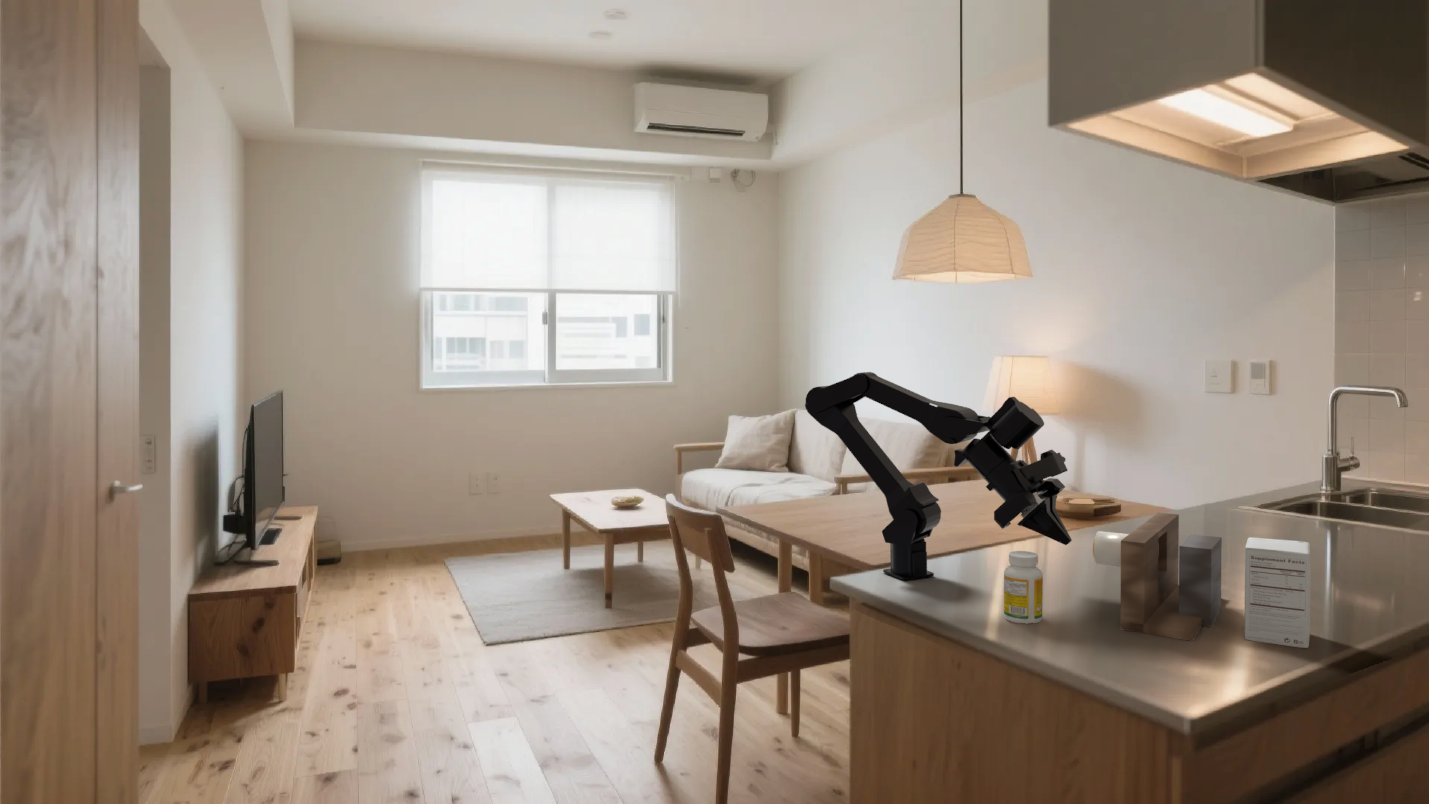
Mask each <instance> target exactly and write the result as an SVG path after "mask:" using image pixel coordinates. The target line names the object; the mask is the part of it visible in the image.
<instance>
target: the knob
mask: <svg viewBox="0 0 1429 804" xmlns="http://www.w3.org/2000/svg"><path fill="white" fill-rule="evenodd" d="M1129 534H1130V533H1120V532H1112V531H1111V532H1110V531H1101V530H1098V531H1097V532H1096V534H1095V537H1094V539H1093V544H1092V555H1093V558H1094V562H1095V564H1096V565H1103V566H1110V567H1118V568H1119V567H1120V568H1121V540H1122V539H1124V538H1125V537H1126V536H1128V535H1129ZM1158 557H1159V544H1158Z"/></svg>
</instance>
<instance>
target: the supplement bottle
mask: <svg viewBox="0 0 1429 804" xmlns="http://www.w3.org/2000/svg"><path fill="white" fill-rule="evenodd" d="M1008 563H1009V564H1010V565H1009V566H1007V567H1006V568H1005V569H1004V571H1003V617H1004V618H1005V620H1007V621H1009V622H1012V623H1014V624H1015V623H1016V624H1020V623H1025V624H1024V625H1029V624H1028V623H1033V624H1037V623H1039V621H1040V622H1041V621H1042V620H1043V594H1044V593H1043V590H1044V589H1043V586H1044V585H1043V582H1044V581H1043V580H1044V577H1043V572H1042V570H1041V568H1039V567H1037V565H1038V564H1039V555H1038V553H1035V552H1032V551H1027V550H1017V551H1016V550H1015V551H1010V552H1009V553H1008Z"/></svg>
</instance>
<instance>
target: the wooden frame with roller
mask: <svg viewBox="0 0 1429 804" xmlns="http://www.w3.org/2000/svg"><path fill="white" fill-rule="evenodd" d="M1179 520H1180V514H1176V513H1167V512H1165V513H1164V512H1157V513H1155V514H1154V515H1153V516H1151V517H1150V518H1149V519H1148V520H1147V521H1145V522H1144V523H1142V524H1141V525H1140V526H1138V527H1137V528H1136V529H1134V530H1133V531H1132V532H1130V533H1128V534H1129V535H1128V536H1126V537H1125V538H1124V539H1122V540H1121V567H1120V630H1121V629H1124V630H1123V631H1128V632H1133V633H1141V634H1146V635H1147V634H1148V635H1154V636H1159V637H1160V636H1161V637H1164V638H1165V637H1167V638H1173V639H1178V640H1185V641H1191V642H1192V641H1194V639H1196V637H1197V635H1198V634H1199V632H1200V630H1201V629H1202V628H1203V627H1207V628H1211V627H1212V626H1213V624H1214V622H1215V621H1216V620H1217V618H1218V616H1219V615H1220V613H1221V611H1222V548H1223V547H1222V544H1223V543H1222V542H1223V541H1222V540H1223V539H1222V537H1220V536H1211V535H1210V536H1209V535H1201V534H1198V535H1197V534H1190V535H1189V536H1188V537H1187V538H1186V539H1185V540H1184V541H1183V542H1182V543H1180V545H1179V537H1180V536H1179V535H1180V534H1179V530H1180V529H1179V527H1180V525H1179V524H1180V523H1179V522H1180V521H1179ZM1158 544H1159V557H1158Z"/></svg>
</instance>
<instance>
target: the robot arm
mask: <svg viewBox="0 0 1429 804" xmlns="http://www.w3.org/2000/svg"><path fill="white" fill-rule="evenodd" d="M864 398H867V399H869V400H871V401H873V402H876V403H878V404H880V405H882V406H884V407H886V408H889V409H891V410H893V411H895V412H898V413H899V414H902V415H904V416H905V417H908V418H911V419H913V420H914V421H916V422H918V423H919V424H921V425H922V426H923V428H925V429H926V430H927V432H929V433H930V434H931V435H933V436H934V437H936V438H938V439H939V440H940V441H942V442H943V443H945V444H949V445H956V444H960V443H964V442H968V441H970V442H969V443H968V444H967V445H966V446H965V447H964V448H963V449H962V448H958V449H955V450H953V452H954V462H953V465H954V467H956V468H957V467H960V466H964V465H966V464H967V463H969V465H971V467H972V468H973V469H975V471H976V472H977V473H978V474H979V476H981V478H983V480H985V481H986V483H987V485H986V486H985V488H986V489H987V490H988V492H992V491H995V493H996V494H997V495H999V497H1001V500H1003V501H1004V502H1002V503H1001V505H999V506H998V507H997V508H996V509H995V510H994V511H993V520H994V522H996V524H997V525H998V527H1000V528H1001V529H1002V530H1003V529H1005V528H1007V527H1009V526H1010V525H1011V524H1012V523H1011V522H1012V521H1014V520H1015V518H1016V517H1018V516H1019V515H1020V516H1021V518H1022V519H1021V520H1019V522H1018V523H1016V524H1017V526H1019V527H1023V528H1026V529H1027V530H1030V531H1033V532H1035V533H1036V534H1037V533H1038V534H1040V535H1042V536H1044V537H1047V538H1049V539H1051V540H1053V541H1056V542H1058V543H1060V544H1062V545H1064V546H1067V545H1069V544H1070V543H1071V542H1072V541H1073V539H1072V537H1071V536H1070V534H1069V532H1068V529H1067V528H1066V526H1065V525H1064V523H1063V521H1062V519H1061V518H1060V515H1059V514H1058V511H1057V509H1056V508H1057V507H1056V506H1057V499H1058V495H1059V494H1060V493H1061V492H1063V490H1065V488H1066V486H1065V484H1064V483H1062V482H1061V480H1059V479H1058V478H1056V476H1058V475H1060V474H1063V473H1066V472H1068V468H1067V466H1066V464H1065V462H1066V457H1065V456H1063V455H1062V454H1061V452H1056V451H1055V450H1054V449H1048V450H1047V451H1045V452H1042V453H1040V459H1039V460H1036V461H1034V462H1032V463H1029V464H1028V463H1026V461H1024V459H1023V460H1021V459H1019V460H1016V459H1015V458H1014V457H1013V456H1012V455H1011V454H1010V453H1009V452H1008V451H1007V450H1010V449H1011V448H1012V449H1015V450H1019V449H1021V447H1023V446H1024V445H1025V444H1026V443H1027V442H1028V441H1029V440H1030V439H1031V438H1033V436H1034V435H1035V434H1036V433H1037V432H1038V431H1040V430H1041V429H1042V428H1043V427H1044V426H1045V422H1044V420H1043V418H1042V416H1041V415H1040V414H1039V413H1038V412H1037V411H1036V409H1034V408H1031V407H1029V406H1028V405H1027V404H1025V403H1024V402H1023V401H1020V400H1019V399H1018V398H1017V397H1015V396H1009V397H1008V398H1007V399H1006V400H1005V401H1004V402H1003V403H1002V405H1001V407H999V409H998V410H997V411H996V412H995V413H994V414H993V415H991V417H990V416H984V415H980V414H978V413H977V412H976V411H975V410H973V409H972V408H969V407H967V406H962V405H959V404H953V403H948V402H942V401H936V400H933V399H930V398H928V397H926V396H923V395H921V394H919V393H917V392H914V391H912V390H910V389H907V388H905V387H903V386H900V385H899V384H896V383H894V382H892V381H890V380H887V379H885V378H882V377H880V376H879V375H878V374H876V373H874V372H872V371H866V372H865V371H864V372H863V371H862V372H856V373H855V374H854V375H853V376H849V377H848V378H846V379H843V380H840V381H837V382H835V383H832V384H830V385H821V386H815V387H813V388H810V390H808V393H806V397H805V404H804V406H805V410H806V411H807V413H808V415H810V417H812V418H813V419H814V420H815V421H816V422H817V423H819V425H821V426H822V427H824V428H826V429H827V430H828V431H830V432H832V433H834V434H835V435H836V436H837V437H838V438H839V439H840V440H841V442H842V443H843V444H844V446H845V448H847V449H848V451H849V452H850V453H851V454H852V456H853V457H854V458H855V459H856V461H857V462H858V464H859V465H860V467H862V469H863V470H864V471H865V473H866V474H868V476H869V478H870V479H871V480H872V482H874V483H875V485H876V486H877V487H878V489H879V490H880V491H881V493H882V494H883V495H884V497H885V500H886V505H887V509H888V512H889V515H890V517H891V518H892V520H891V521H890V523H888V524H887V525H886V526H885V527H884V528H883V529H882V531H881V533H882V537H883V540H884V543H886V544H890V545H889V546H890V555H889V557H890V568H885V569H883V570H882V572H883V574H886V575H889V576H892V577H895V578H897V579H899V580H902V581H908V580H909V581H910V580H913V579H914V580H915V579H921V578H928V577H934V576H935V573H934V572H933V571H930V570H928V552H927V541H925V540H926V538H929V537H931V534H932V533H933V532H932V531H933V529H934V528H935V527H937V526H938V525H939V523H940V521H941V519H942V518H941V517H942V510H941V506H940V505H939V503H938V502H939V501H940V499H939V498H938V497H936V496H934V494H933V493H932V492H931V491H930V488H928V486H927V484H926V482H925V483H924V482H919V483H917V484H914V483H912V482H911V481H909V480H907V479H906V477H905V476H904V475H903V474H902V472H901V471H900V470H899V469H898V468H897V466H896V464H895V463H894V462H893V461H892V460H891V459H890V458H889V456H888V455H887V454H886V452H885V451H884V450H883V449H882V448H881V446H880V444H878V442H877V441H876V440H875V438H874V437H873V436H872V434H870V432H869V431H868V430H867V428H866V427H865V426H864V425H863V424H862V422H860V419H859V417H858V413H857V409H856V406H855V403H857V402H859V401H861V400H862V399H864ZM985 432H986V433H985ZM980 433H981V434H982V433H985V435H983V437H981V438H980V439H979V438H976V437H977V435H978V434H980ZM1054 477H1055V478H1054Z"/></svg>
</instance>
